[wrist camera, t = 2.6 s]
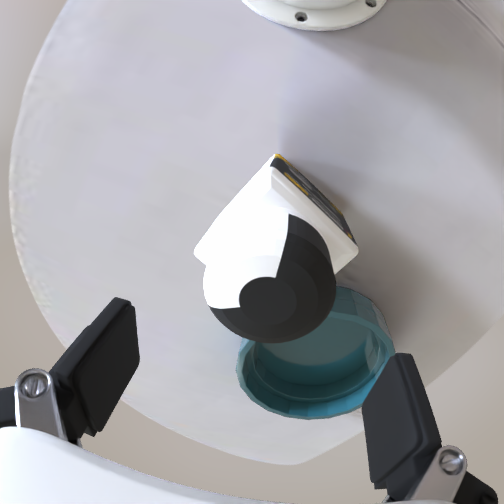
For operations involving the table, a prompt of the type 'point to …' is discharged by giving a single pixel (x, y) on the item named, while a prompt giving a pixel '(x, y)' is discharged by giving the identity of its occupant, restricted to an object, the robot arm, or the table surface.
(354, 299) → the dish
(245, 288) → the medicine bottle
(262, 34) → the table surface
